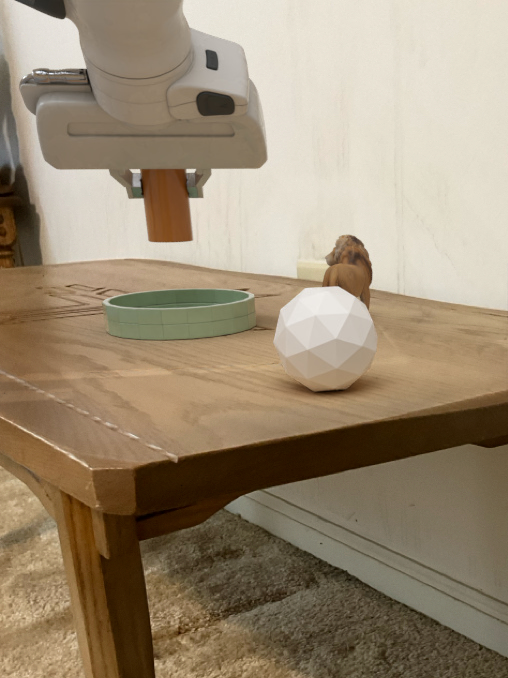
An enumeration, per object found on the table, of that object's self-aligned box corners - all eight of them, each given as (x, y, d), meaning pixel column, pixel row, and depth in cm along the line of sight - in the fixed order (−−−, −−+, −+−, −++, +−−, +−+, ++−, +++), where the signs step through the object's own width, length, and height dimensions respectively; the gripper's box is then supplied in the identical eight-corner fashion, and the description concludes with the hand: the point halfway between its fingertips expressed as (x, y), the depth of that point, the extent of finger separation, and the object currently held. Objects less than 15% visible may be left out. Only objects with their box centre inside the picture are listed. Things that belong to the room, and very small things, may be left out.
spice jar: (146, 242, 83) (133, 141, 79) (151, 239, 87) (139, 142, 83) (192, 242, 84) (182, 141, 80) (194, 238, 88) (185, 142, 84)
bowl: (96, 349, 81) (90, 311, 80) (119, 323, 95) (114, 290, 93) (257, 342, 83) (254, 306, 82) (256, 318, 97) (254, 286, 96)
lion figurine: (328, 316, 98) (325, 233, 94) (374, 315, 98) (372, 232, 94) (315, 339, 84) (310, 244, 81) (369, 339, 84) (366, 243, 81)
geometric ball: (320, 430, 65) (261, 356, 59) (302, 372, 70) (247, 299, 64) (406, 379, 64) (355, 299, 58) (381, 324, 69) (332, 246, 63)
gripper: (10, 97, 69) (56, 220, 81) (265, 99, 72) (271, 217, 84) (14, 41, 71) (58, 169, 84) (261, 46, 74) (267, 168, 87)
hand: (167, 193), depth 84 cm, fingers closed on spice jar, 4 cm apart
